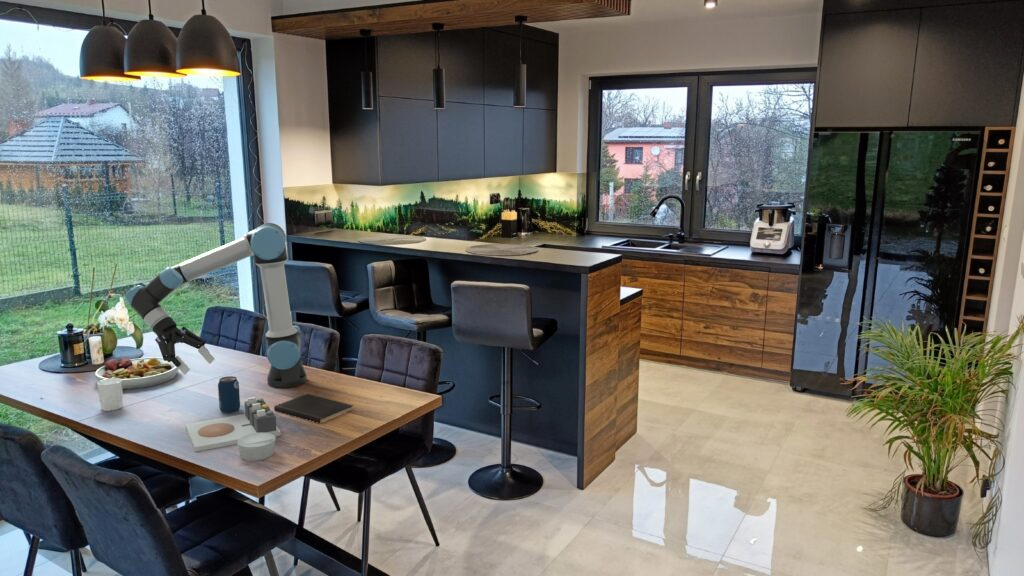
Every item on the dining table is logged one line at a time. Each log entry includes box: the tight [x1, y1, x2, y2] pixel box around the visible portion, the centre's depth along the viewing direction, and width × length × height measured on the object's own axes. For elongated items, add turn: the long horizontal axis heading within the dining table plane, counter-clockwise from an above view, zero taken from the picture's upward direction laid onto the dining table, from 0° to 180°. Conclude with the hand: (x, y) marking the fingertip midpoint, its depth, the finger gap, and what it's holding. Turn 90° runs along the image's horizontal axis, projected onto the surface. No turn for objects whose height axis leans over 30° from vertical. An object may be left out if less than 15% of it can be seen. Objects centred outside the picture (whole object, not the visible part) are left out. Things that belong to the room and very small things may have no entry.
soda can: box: [217, 375, 241, 415], centre depth 258 cm, size 7×7×12 cm
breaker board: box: [184, 396, 282, 452], centre depth 239 cm, size 26×22×8 cm
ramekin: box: [236, 433, 277, 462], centre depth 221 cm, size 11×11×5 cm
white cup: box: [96, 378, 124, 412], centre depth 260 cm, size 8×8×10 cm
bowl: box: [94, 357, 180, 390], centre depth 292 cm, size 30×30×8 cm
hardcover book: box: [273, 393, 354, 424], centre depth 260 cm, size 16×23×2 cm
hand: (200, 366), depth 258 cm, fingers open, 13 cm apart
